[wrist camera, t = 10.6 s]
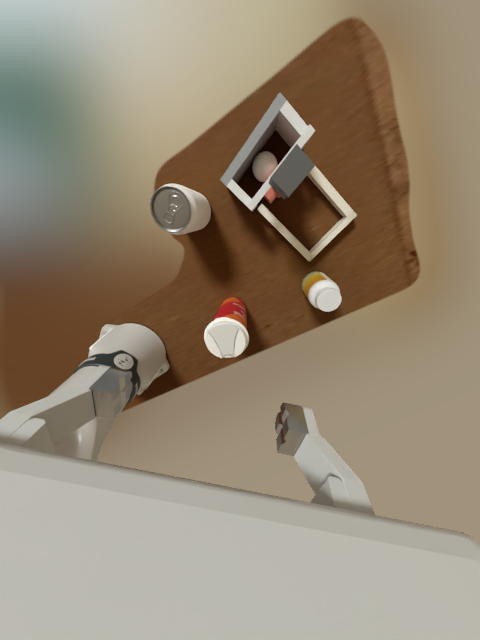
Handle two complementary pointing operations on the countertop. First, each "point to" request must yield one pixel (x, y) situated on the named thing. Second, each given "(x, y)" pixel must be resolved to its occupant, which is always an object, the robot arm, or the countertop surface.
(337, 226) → the white flat open frame
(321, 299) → the supplement bottle
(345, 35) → the countertop surface
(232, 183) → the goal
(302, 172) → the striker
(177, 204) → the can
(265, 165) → the ball
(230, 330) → the paper cup
